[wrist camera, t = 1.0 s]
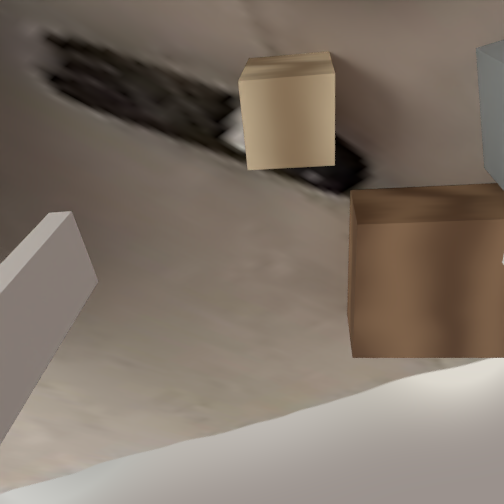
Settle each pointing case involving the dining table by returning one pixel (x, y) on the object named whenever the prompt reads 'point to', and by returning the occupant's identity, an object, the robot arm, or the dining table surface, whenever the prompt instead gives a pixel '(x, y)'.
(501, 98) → the slate block
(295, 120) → the oak block
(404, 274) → the walnut pedestal
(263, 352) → the dining table surface
